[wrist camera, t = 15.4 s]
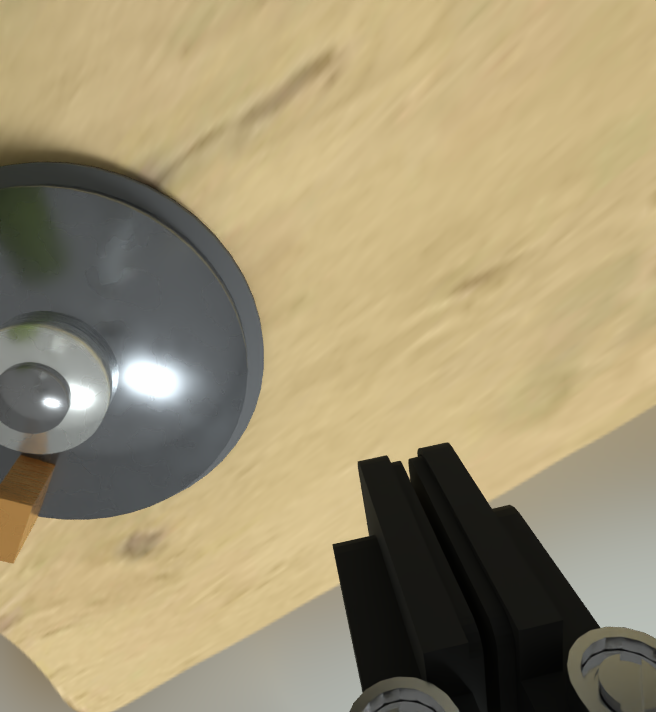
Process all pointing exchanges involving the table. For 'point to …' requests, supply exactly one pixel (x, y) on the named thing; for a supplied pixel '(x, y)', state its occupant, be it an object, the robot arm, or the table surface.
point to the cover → (53, 382)
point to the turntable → (120, 353)
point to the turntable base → (186, 226)
